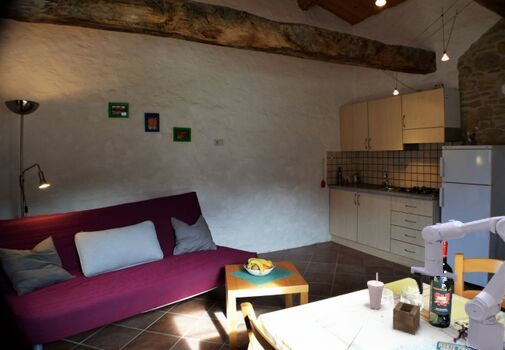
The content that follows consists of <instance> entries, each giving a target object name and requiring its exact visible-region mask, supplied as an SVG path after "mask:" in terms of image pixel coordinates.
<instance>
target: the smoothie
mask: <svg viewBox="0 0 505 350" xmlns="http://www.w3.org/2000/svg"><path fill="white" fill-rule="evenodd" d="M375 274H376V276H375V277H376V280H368V281H367V284H366V285H367V288H368V296H369V305H370V308H371V309H375V310H380V309H381V305H382V298H383V289H384V288H385V284H384V282H382V281H379V274H378V272H376V273H375Z"/></svg>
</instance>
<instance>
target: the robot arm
mask: <svg viewBox="0 0 505 350" xmlns="http://www.w3.org/2000/svg"><path fill="white" fill-rule="evenodd" d="M481 231H482V232H483V231H490V232H491V233H493V234H498V235H499V237H500V238H501V239H502V240H503V242H505V215H502V216H492V217H487V218H482V219H478V220H474V221H470V222H465V223H463V222H462V221H459V220H455V219H450V220H449V219H448V221H447V222H444V223H441V222H438V223H435V224H434V225H427V226H426V227H423V229H422V230H421V237H422V239H423V240H424V267H421V266H418V267H417V266H411V268H410V273H411V274H413V279H414V280H415V283H416V285H417V288H418V292H419V295H421V296H422V295H423V294H424V276H429V277H434V276H440V277H448V281H444V280H443V285H444V284H445V285H446V287H447V291H448V290H449V291H450V288H451V286H452V285H453V282H457V281H458V274H457V273H453V272H449V271H446V272H447V273H443V271H444V268H443V267H444V244H443V242H445V241H450V240H456V239H462V238H464V237H466V235H467V233H473V232H474V233H475V232H481ZM440 241H442V242H441V243H440ZM449 291H448V292H449ZM504 297H505V260H504V261H503V262H502V264H501V265H500V266H499V268H498V269H497V271H496V272H495V273H494V274H493V276H492V277H491V278H490V280H489V281H488V283H487V284H486V285H485V287H484V288H483V289H482V290H481V291H480V292H479V293H477V295H475V296H474V298H473V299H470V300H468V301H467V302H466V303H464V311H465V314H466V315H467V316H468V333H467V337H468V338H467V339H466V341H465V345H470V346H473V347H475V348H476V349H477V350H504V349H505V341H504V340H505V339H504V337H505V336H504V335H505V333H504V332H505V324H504V323H503V322H500V321H497V315H498V314H500V312H501V307H502V306H501V305H502V303H504V299H503V298H504Z"/></svg>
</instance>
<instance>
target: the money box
mask: <svg viewBox="0 0 505 350" xmlns="http://www.w3.org/2000/svg"><path fill="white" fill-rule="evenodd" d="M392 315H393V316H392V329H393V330H397V331H400V332H403V333H407V334H410V335H416V333H417V331H418V329H419V328H420V324H421V322H420V320H421V305H416V304H413V303H407V302H404V301H398V302H397V304H396V305H395V306H394V307H393V310H392Z"/></svg>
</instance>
